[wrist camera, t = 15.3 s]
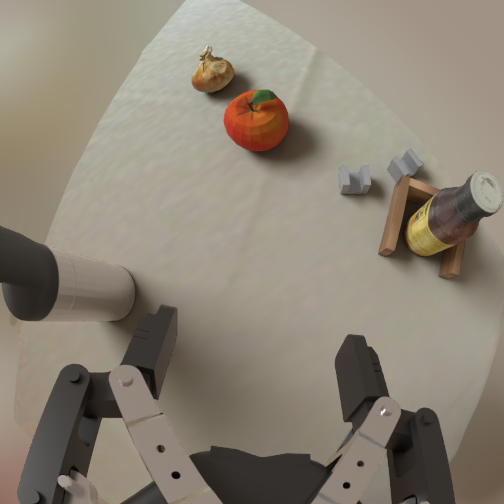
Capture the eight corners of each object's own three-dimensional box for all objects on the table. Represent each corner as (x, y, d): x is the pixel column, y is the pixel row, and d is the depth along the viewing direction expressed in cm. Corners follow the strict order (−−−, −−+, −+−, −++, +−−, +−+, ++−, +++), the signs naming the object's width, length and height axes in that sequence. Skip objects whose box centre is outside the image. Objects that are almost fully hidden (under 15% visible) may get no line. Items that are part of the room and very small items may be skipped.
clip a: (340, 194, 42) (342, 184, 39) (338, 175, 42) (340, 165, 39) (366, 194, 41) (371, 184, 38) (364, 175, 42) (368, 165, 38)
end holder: (378, 253, 40) (386, 247, 35) (394, 187, 41) (402, 174, 36) (445, 278, 37) (458, 275, 33) (457, 212, 38) (470, 203, 34)
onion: (188, 91, 50) (173, 64, 43) (218, 66, 50) (207, 38, 43) (214, 107, 48) (200, 79, 41) (245, 80, 49) (236, 51, 41)
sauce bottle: (426, 210, 39) (493, 149, 20) (444, 247, 38) (524, 207, 19) (392, 226, 40) (451, 167, 21) (410, 266, 38) (484, 233, 19)
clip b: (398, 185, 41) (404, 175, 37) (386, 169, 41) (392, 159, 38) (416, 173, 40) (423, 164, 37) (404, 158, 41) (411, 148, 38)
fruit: (228, 118, 47) (212, 81, 38) (284, 107, 46) (278, 67, 36) (235, 166, 46) (218, 132, 36) (296, 154, 44) (293, 117, 35)
